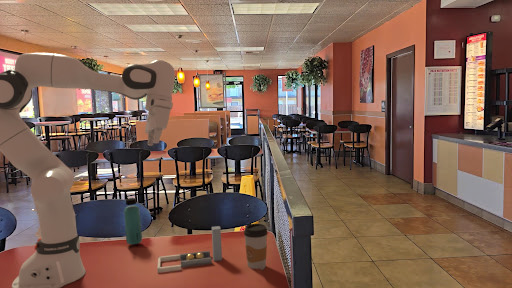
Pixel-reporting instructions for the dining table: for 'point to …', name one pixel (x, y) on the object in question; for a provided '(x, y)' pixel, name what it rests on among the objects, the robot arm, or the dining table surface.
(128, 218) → the beverage bottle
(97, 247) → the dining table surface
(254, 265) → the coffee cup
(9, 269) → the dining table surface
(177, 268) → the ball tray
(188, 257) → the gold metallic ball
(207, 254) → the slot rail
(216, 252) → the tall gray pillar
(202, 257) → the brass sphere
